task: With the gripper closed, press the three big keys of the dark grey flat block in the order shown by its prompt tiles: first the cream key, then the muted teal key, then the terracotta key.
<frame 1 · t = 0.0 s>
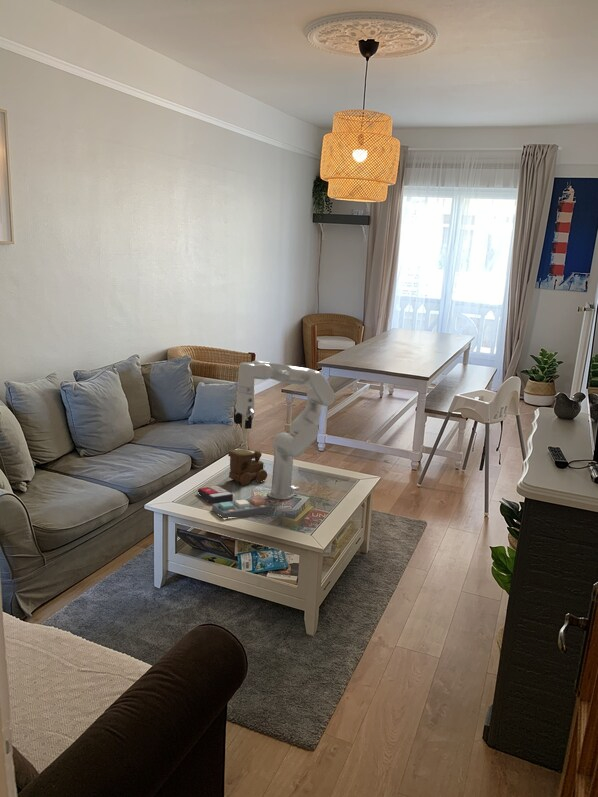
hand: (243, 426, 286), 37 cm above the table, tool pointing down, fingers open, 9 cm apart
cream key: (242, 504, 280), point 3 cm above the table, slide at 0.0 cm
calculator: (214, 499, 295), on the table
wooden toy train: (247, 481, 323), on the table
dark grey flat block: (241, 511, 281), on the table
terracotta key: (257, 502, 284), point 3 cm above the table, slide at 0.0 cm
teal key: (226, 506, 276), point 3 cm above the table, slide at 0.0 cm
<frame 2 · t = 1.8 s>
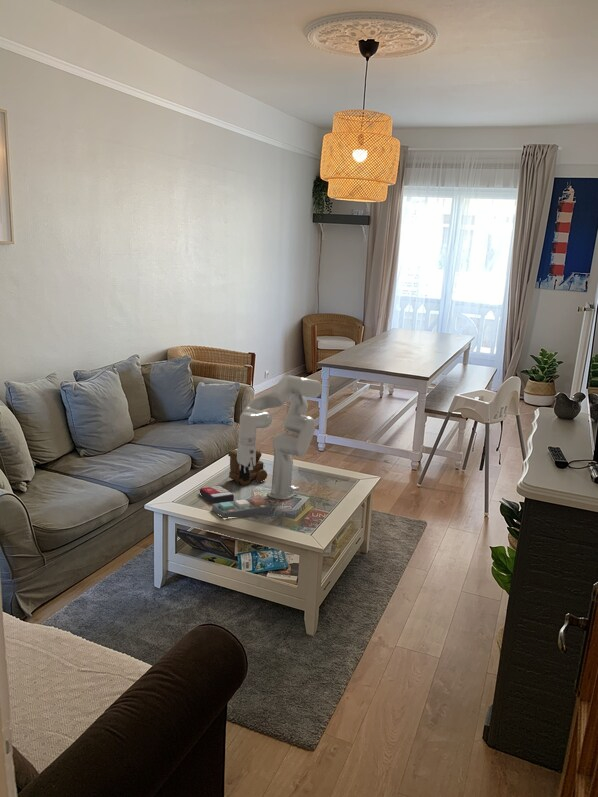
hand: (244, 479, 278), 15 cm above the table, tool pointing down, fingers closed
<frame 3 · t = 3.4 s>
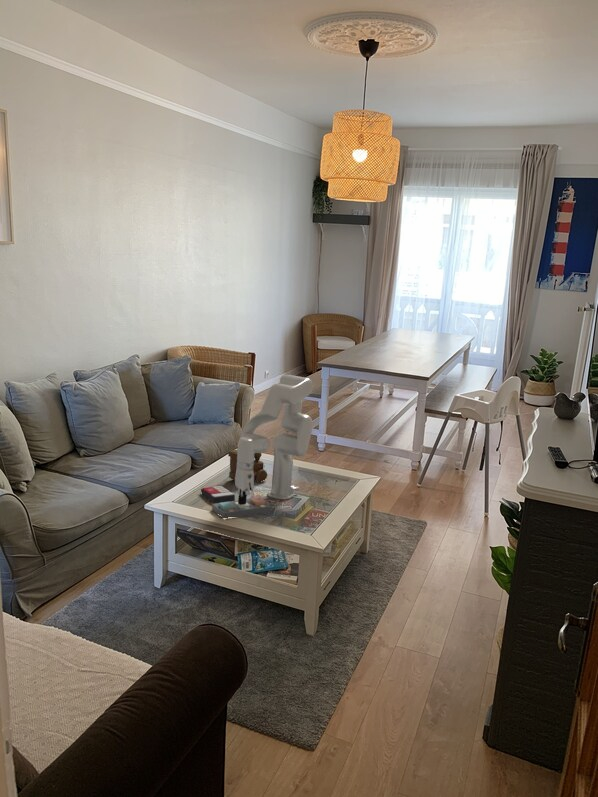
hand: (242, 503, 280), 4 cm above the table, tool pointing down, fingers closed
cream key: (242, 506, 280), point 2 cm above the table, slide at 0.8 cm, touching gripper
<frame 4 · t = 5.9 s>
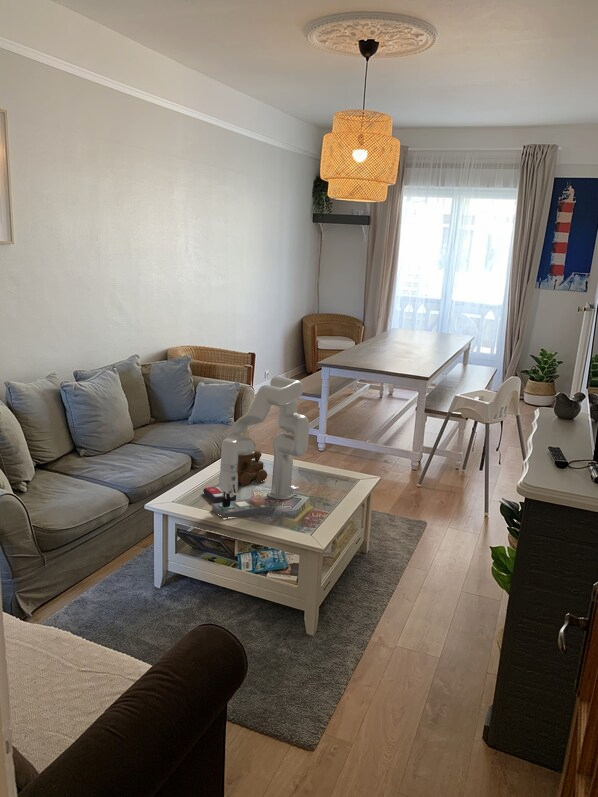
hand: (226, 506, 275), 4 cm above the table, tool pointing down, fingers closed
cream key: (242, 506, 280), point 2 cm above the table, slide at 0.9 cm
teal key: (226, 508, 276), point 2 cm above the table, slide at 0.9 cm, touching gripper
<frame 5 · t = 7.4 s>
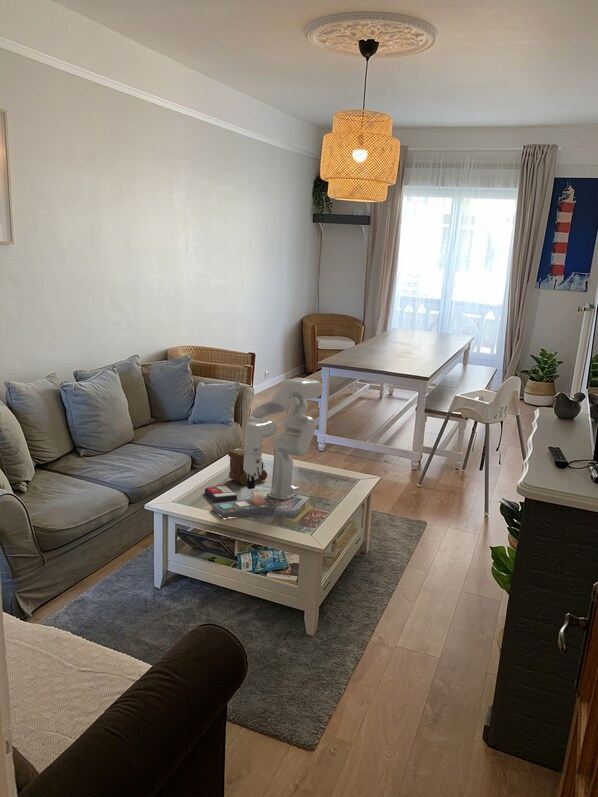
hand: (250, 488, 281), 10 cm above the table, tool pointing down, fingers closed
teal key: (226, 508, 276), point 2 cm above the table, slide at 0.9 cm
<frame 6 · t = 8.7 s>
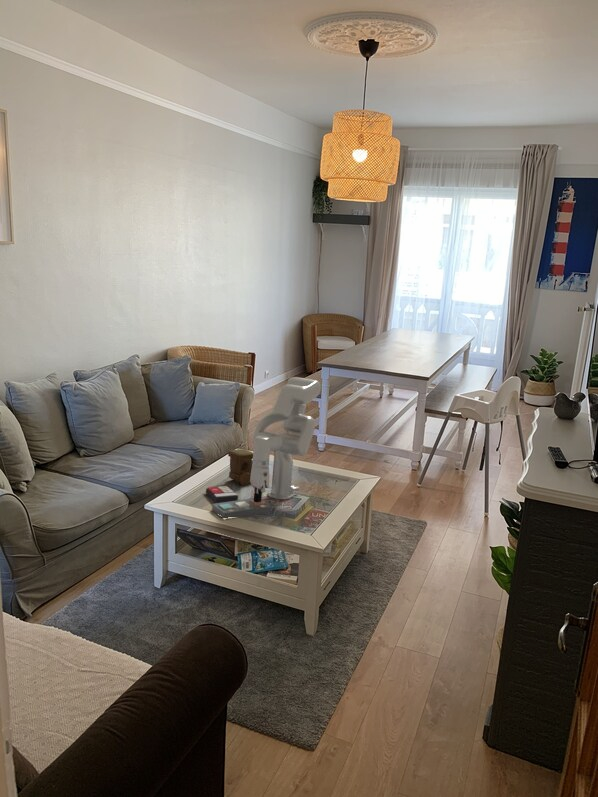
hand: (257, 501, 284), 4 cm above the table, tool pointing down, fingers closed
terracotta key: (257, 503, 284), point 3 cm above the table, slide at 0.7 cm
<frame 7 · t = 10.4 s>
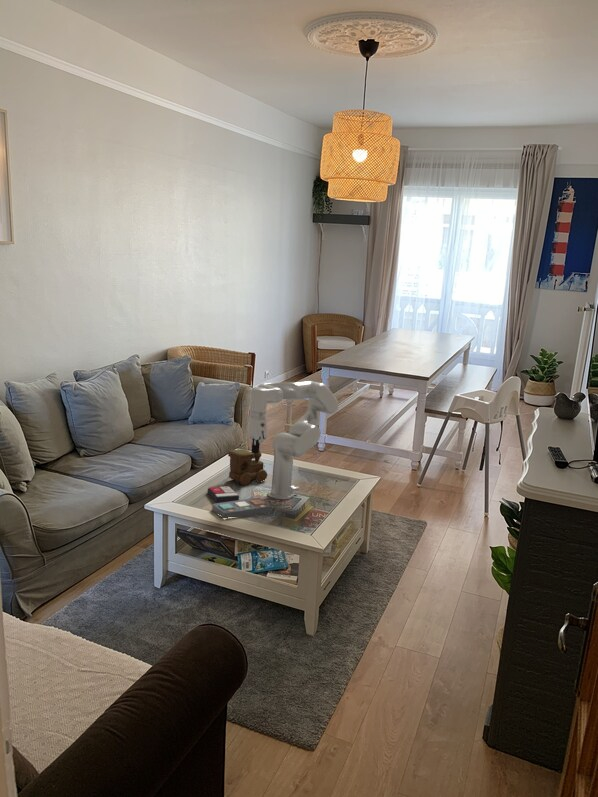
hand: (255, 452, 287), 25 cm above the table, tool pointing down, fingers closed
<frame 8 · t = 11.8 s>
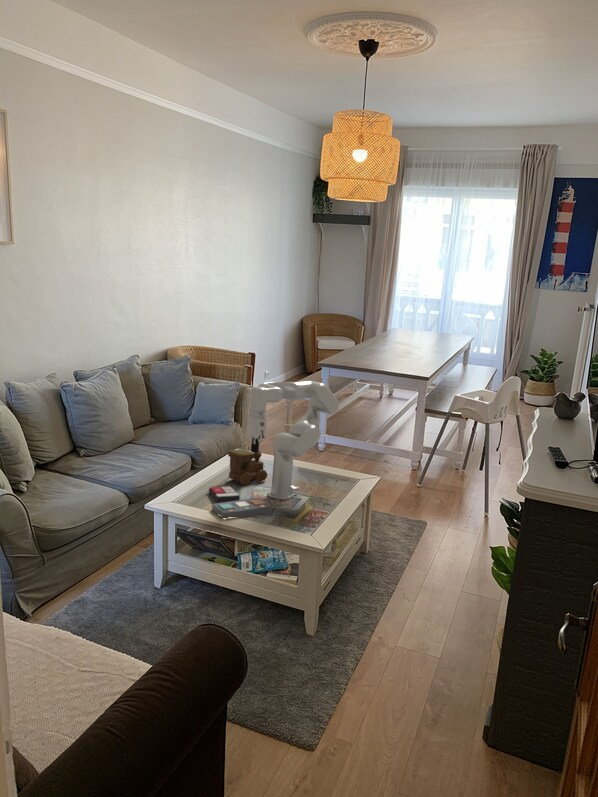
hand: (254, 451, 287), 25 cm above the table, tool pointing down, fingers closed
at the end: cream key slide at 0.9 cm; teal key slide at 0.9 cm; terracotta key slide at 0.9 cm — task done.
